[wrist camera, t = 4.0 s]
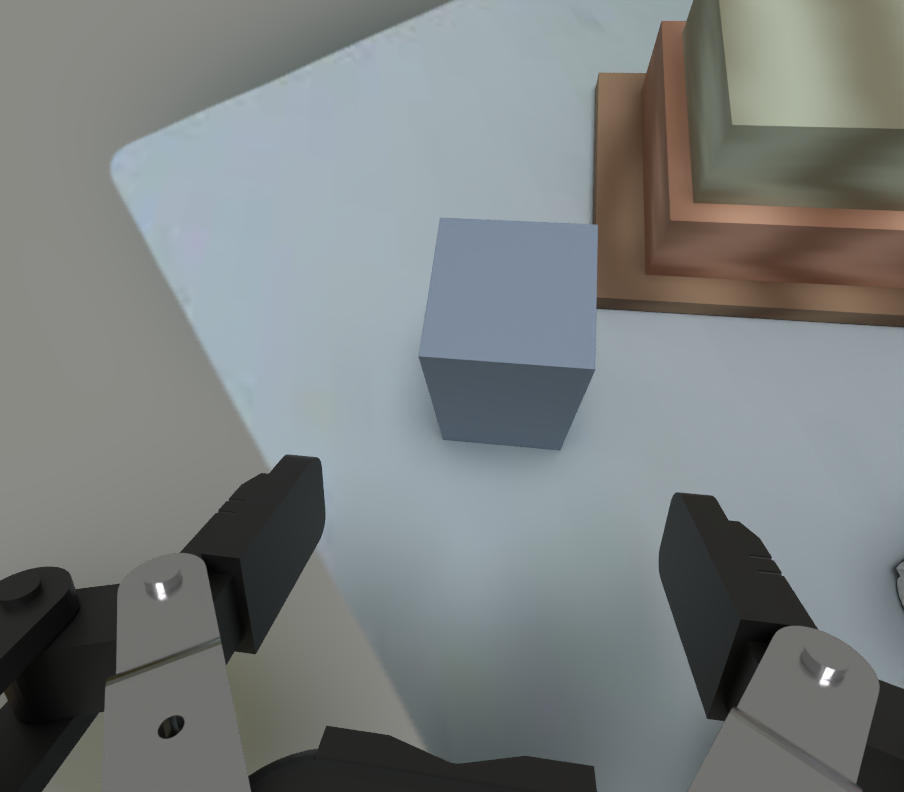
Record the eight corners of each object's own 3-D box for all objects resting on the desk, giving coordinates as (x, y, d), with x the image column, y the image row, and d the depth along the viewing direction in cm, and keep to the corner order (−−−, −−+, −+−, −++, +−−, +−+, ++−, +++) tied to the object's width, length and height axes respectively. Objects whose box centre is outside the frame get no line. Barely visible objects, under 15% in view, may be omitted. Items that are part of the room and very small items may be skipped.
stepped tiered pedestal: (907, 92, 31) (1061, -99, 22) (974, 331, 25) (1217, 193, 17) (595, 87, 33) (630, -89, 24) (590, 307, 27) (634, 174, 19)
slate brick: (564, 345, 26) (597, 224, 18) (560, 450, 24) (595, 369, 16) (456, 337, 27) (440, 217, 19) (443, 439, 25) (418, 356, 17)
